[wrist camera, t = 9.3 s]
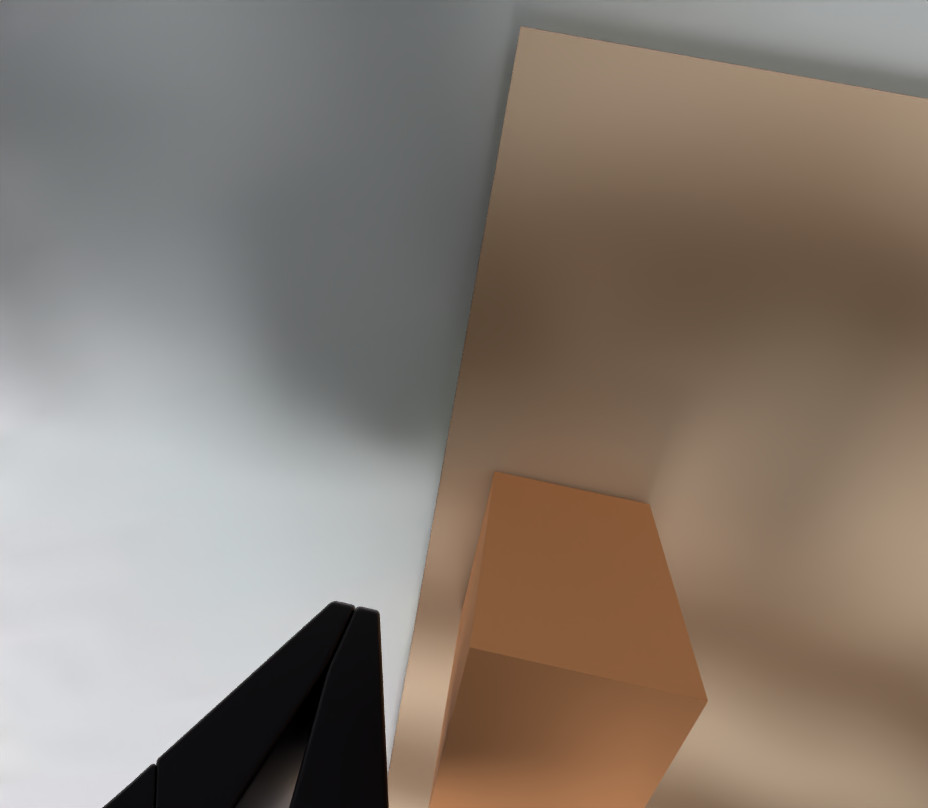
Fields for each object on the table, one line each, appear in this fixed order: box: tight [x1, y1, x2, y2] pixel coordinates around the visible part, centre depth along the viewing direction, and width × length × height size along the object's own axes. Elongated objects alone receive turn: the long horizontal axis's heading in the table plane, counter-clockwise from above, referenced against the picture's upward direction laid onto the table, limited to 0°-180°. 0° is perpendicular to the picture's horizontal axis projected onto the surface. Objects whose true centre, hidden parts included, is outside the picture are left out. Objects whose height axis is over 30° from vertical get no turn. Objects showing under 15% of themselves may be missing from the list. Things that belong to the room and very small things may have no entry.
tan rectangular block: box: [429, 471, 708, 808], centre depth 9 cm, size 4×3×4 cm
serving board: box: [388, 26, 928, 808], centre depth 12 cm, size 22×18×1 cm
